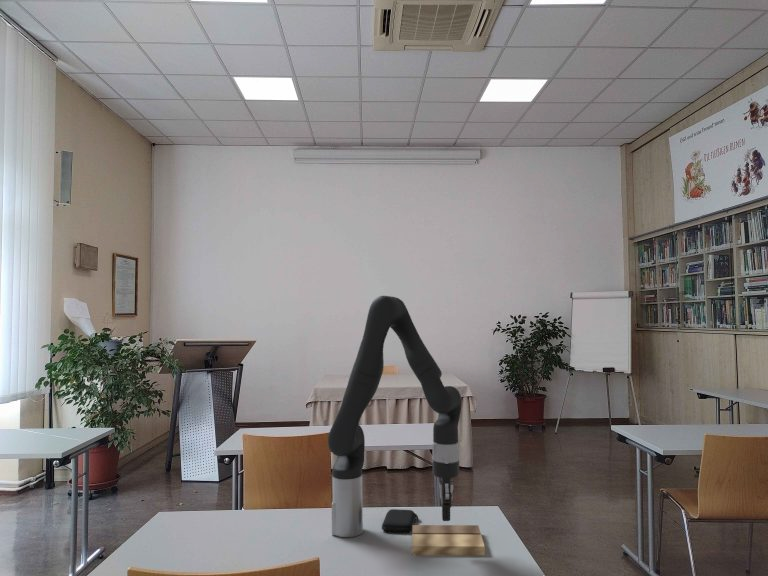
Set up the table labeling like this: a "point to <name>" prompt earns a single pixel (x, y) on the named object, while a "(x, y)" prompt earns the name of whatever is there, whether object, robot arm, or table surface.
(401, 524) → the carrying case or bag
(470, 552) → the oak plank
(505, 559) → the table surface
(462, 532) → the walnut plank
